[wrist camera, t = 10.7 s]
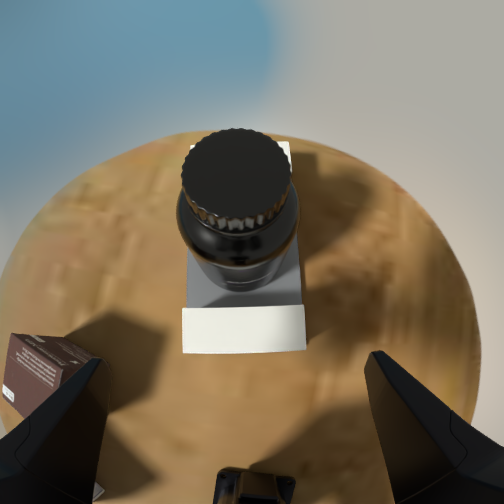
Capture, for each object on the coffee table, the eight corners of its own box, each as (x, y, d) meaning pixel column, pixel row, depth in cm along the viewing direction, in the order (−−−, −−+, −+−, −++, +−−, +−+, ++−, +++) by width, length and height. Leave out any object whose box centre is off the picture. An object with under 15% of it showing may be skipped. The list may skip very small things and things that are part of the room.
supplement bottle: (244, 312, 22) (237, 284, 10) (182, 255, 23) (125, 180, 12) (301, 247, 23) (344, 165, 12) (239, 197, 25) (230, 93, 13)
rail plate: (302, 347, 22) (313, 349, 18) (188, 350, 22) (175, 352, 18) (289, 168, 26) (294, 141, 22) (193, 171, 26) (184, 145, 22)
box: (112, 363, 21) (64, 369, 14) (98, 420, 19) (52, 441, 12) (62, 335, 22) (10, 330, 15) (50, 390, 20) (0, 397, 13)
